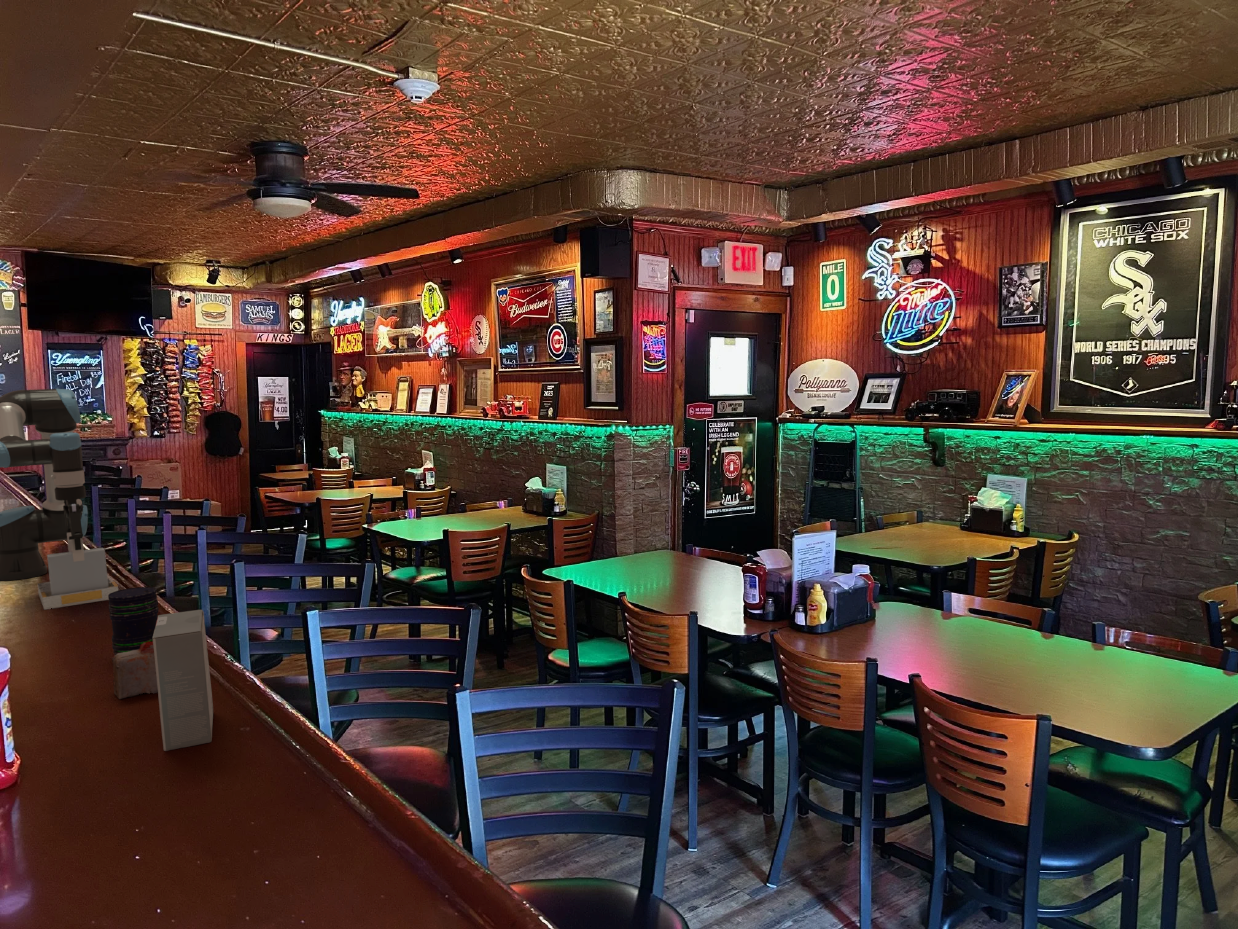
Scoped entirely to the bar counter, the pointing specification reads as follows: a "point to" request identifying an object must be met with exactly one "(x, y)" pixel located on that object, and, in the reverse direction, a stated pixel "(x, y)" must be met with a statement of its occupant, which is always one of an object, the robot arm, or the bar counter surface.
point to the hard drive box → (183, 679)
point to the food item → (135, 672)
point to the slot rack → (74, 595)
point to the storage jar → (132, 617)
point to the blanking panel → (77, 572)
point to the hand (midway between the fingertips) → (76, 557)
